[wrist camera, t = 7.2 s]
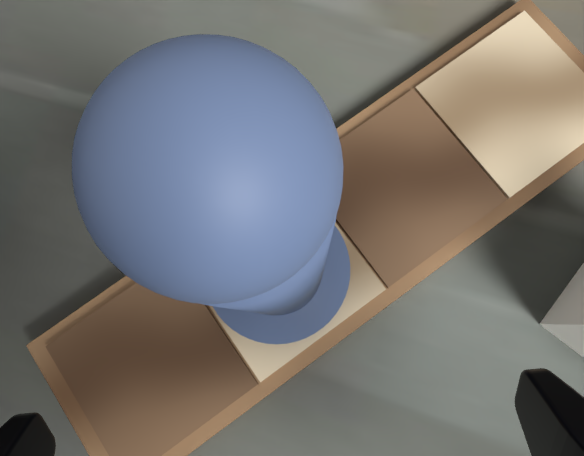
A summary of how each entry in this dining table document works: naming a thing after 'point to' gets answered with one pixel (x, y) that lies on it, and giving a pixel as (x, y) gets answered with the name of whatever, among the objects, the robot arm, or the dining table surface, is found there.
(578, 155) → the board
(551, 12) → the dining table surface
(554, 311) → the white block
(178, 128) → the pawn
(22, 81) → the dining table surface
